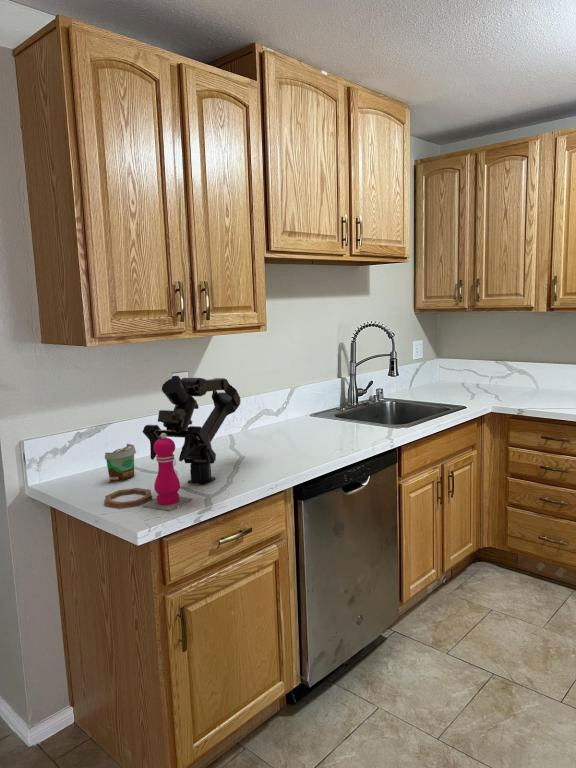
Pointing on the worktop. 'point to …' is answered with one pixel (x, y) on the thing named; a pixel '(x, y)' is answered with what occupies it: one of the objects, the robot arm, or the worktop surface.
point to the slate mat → (167, 507)
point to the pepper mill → (166, 472)
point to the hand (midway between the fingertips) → (165, 459)
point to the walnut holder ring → (128, 503)
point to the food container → (121, 463)
